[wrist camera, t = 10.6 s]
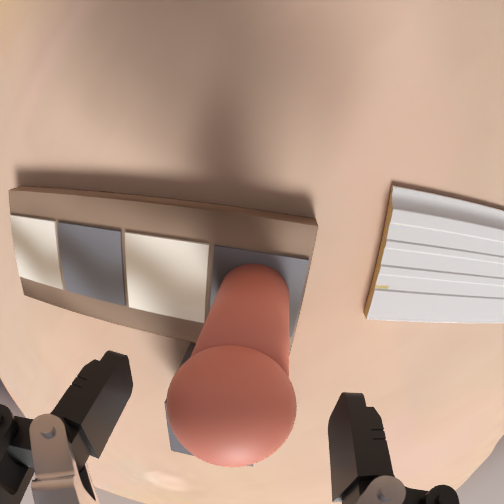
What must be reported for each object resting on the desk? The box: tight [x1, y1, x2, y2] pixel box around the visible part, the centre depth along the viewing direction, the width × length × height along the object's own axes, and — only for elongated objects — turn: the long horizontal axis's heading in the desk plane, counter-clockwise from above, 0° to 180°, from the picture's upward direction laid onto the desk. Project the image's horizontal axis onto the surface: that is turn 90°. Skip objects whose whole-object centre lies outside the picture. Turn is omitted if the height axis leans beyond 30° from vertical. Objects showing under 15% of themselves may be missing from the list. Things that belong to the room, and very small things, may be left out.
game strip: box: [9, 186, 318, 355], centre depth 19 cm, size 9×22×2 cm, turn 83°
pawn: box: [166, 263, 296, 467], centre depth 13 cm, size 5×5×11 cm
